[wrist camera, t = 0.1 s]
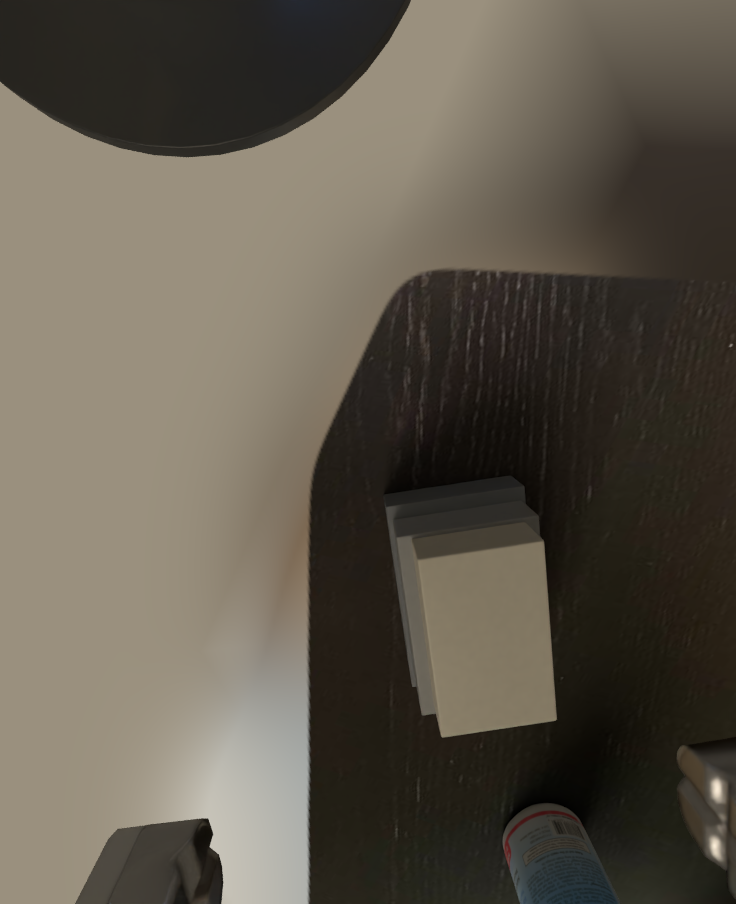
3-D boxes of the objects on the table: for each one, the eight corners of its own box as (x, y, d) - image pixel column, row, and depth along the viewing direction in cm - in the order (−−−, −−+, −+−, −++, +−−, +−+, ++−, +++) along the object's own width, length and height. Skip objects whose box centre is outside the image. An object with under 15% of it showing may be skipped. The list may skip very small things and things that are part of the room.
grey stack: (383, 494, 29) (389, 523, 24) (510, 475, 28) (543, 500, 24) (408, 662, 31) (417, 719, 26) (525, 644, 31) (556, 698, 26)
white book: (410, 538, 24) (417, 559, 21) (525, 521, 24) (544, 540, 21) (433, 702, 26) (441, 738, 24) (538, 686, 26) (557, 721, 23)
